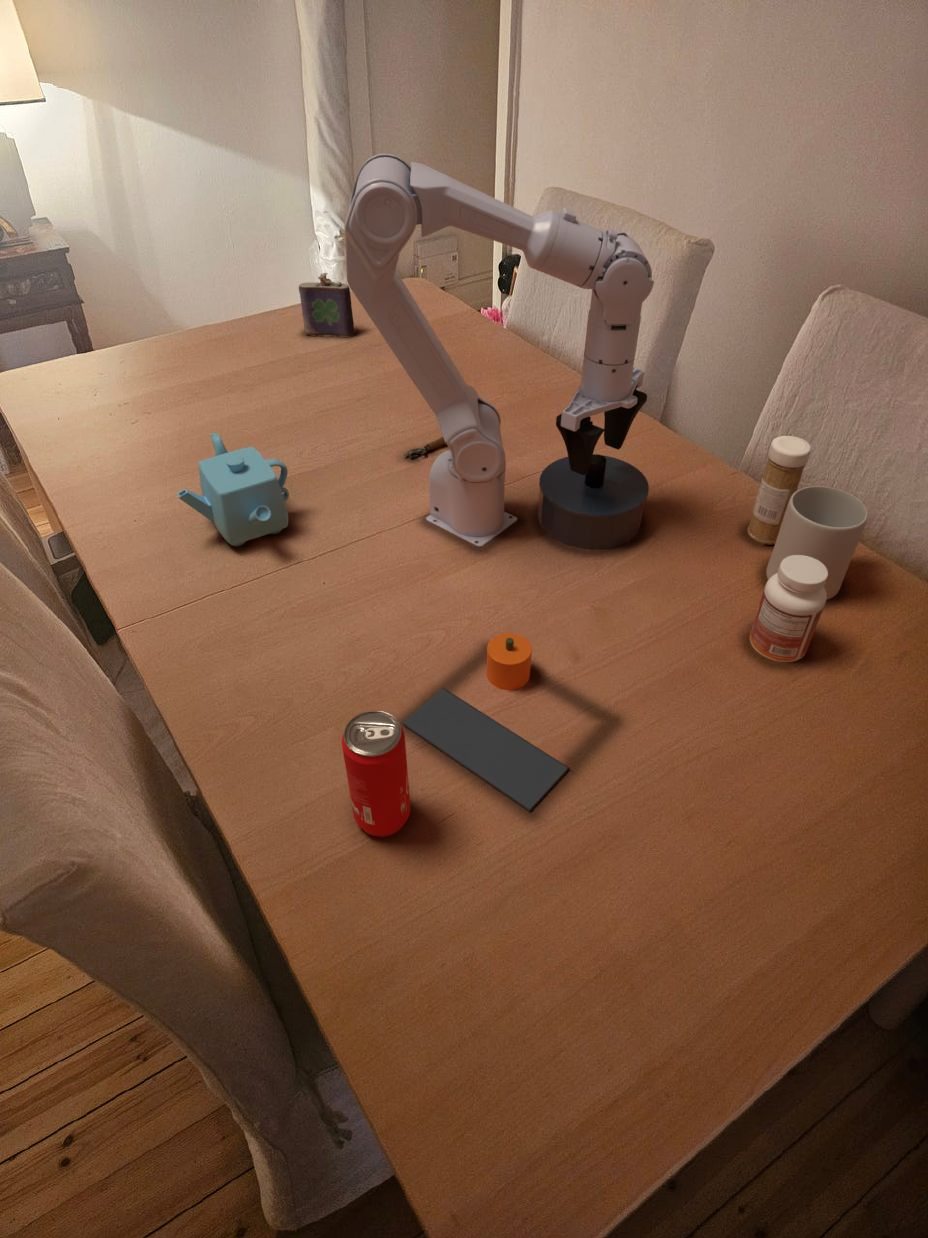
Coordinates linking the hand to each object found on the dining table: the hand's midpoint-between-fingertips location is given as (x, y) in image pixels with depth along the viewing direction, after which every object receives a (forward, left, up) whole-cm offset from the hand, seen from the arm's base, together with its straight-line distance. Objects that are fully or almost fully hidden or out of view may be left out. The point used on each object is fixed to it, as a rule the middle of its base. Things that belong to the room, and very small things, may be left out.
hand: (596, 458), depth 102 cm
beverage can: (+11, -50, -10) cm, 52 cm away
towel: (+13, -34, -10) cm, 38 cm away
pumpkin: (+9, -29, -9) cm, 32 cm away
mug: (+27, +8, -10) cm, 30 cm away
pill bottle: (+29, -6, -10) cm, 31 cm away
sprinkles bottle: (+19, +12, -10) cm, 25 cm away
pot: (0, 0, -10) cm, 10 cm away
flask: (-69, +18, -10) cm, 72 cm away
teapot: (-34, -30, -10) cm, 46 cm away
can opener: (-28, 0, -10) cm, 30 cm away
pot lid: (0, 0, -4) cm, 4 cm away
